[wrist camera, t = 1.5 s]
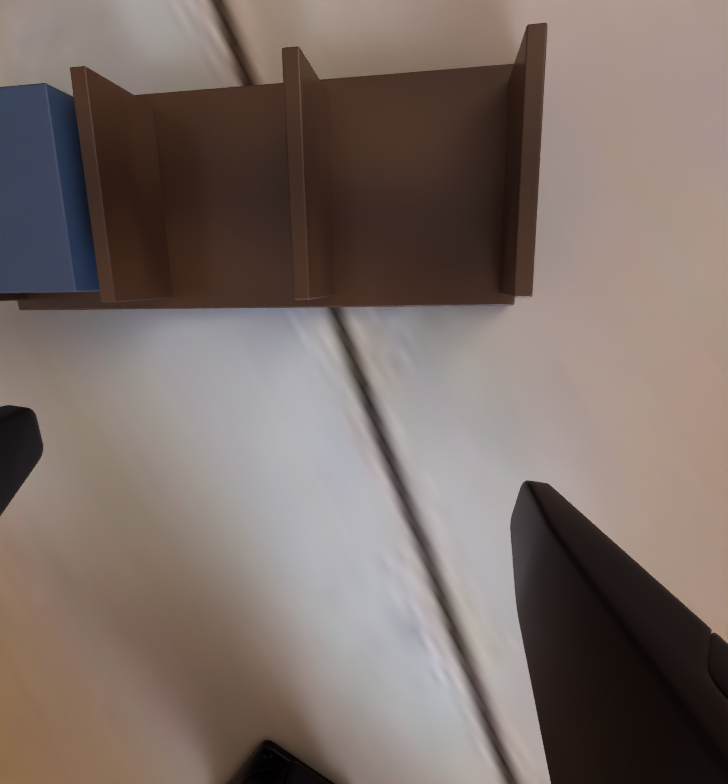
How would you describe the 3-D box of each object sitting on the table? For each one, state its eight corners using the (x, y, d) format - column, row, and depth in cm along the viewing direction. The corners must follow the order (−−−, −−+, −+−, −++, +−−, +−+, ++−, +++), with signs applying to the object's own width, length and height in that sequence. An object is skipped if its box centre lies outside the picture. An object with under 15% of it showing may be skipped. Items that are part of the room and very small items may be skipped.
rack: (511, 304, 21) (531, 312, 17) (31, 309, 25) (-67, 316, 20) (523, 70, 19) (549, 2, 15) (-1, 112, 23) (-119, 69, 18)
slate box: (140, 289, 23) (75, 292, 19) (44, 291, 24) (-38, 293, 20) (120, 118, 21) (45, 82, 17) (18, 126, 22) (-77, 93, 18)
